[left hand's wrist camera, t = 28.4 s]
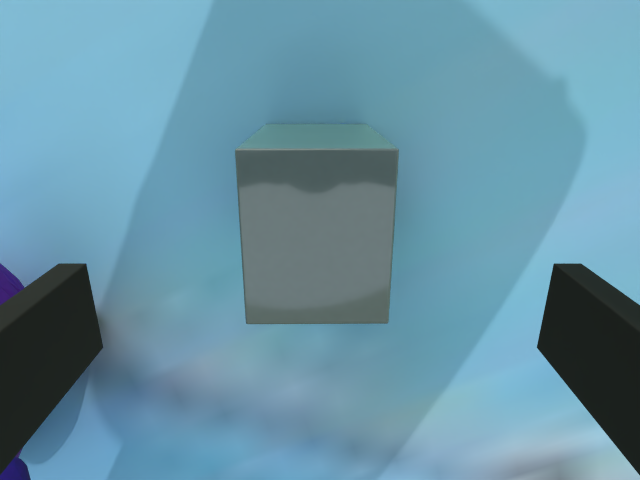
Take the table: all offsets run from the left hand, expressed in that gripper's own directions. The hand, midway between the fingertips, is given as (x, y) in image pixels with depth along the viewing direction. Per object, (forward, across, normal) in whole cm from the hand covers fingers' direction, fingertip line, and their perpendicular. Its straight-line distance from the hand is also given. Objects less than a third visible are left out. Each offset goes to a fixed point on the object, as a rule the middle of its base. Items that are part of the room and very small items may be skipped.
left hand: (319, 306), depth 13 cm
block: (+18, 0, 0) cm, 18 cm away
